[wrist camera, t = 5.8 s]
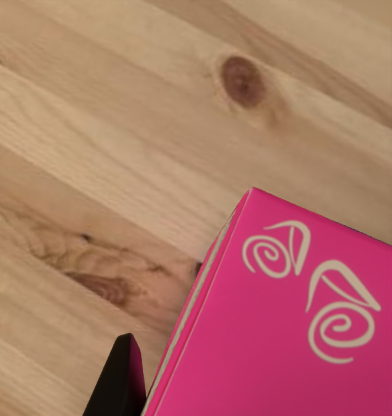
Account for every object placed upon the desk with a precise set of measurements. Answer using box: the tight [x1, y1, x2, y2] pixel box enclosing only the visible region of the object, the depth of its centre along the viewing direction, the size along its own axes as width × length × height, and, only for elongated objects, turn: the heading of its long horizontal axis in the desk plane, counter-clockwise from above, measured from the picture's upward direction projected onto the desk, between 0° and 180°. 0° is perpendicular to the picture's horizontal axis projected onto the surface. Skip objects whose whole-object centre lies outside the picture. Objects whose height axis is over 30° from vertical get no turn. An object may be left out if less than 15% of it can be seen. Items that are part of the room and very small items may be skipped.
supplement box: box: [140, 187, 392, 416], centre depth 10 cm, size 6×6×12 cm
